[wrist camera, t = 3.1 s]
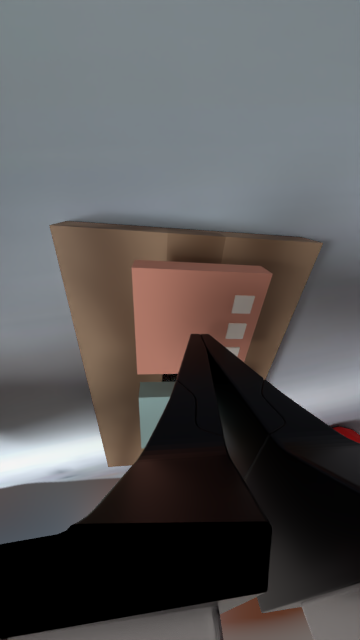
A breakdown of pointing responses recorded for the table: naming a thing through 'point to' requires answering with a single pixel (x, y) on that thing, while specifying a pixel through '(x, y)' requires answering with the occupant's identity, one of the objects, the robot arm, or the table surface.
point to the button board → (118, 308)
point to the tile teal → (152, 406)
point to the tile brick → (193, 308)
